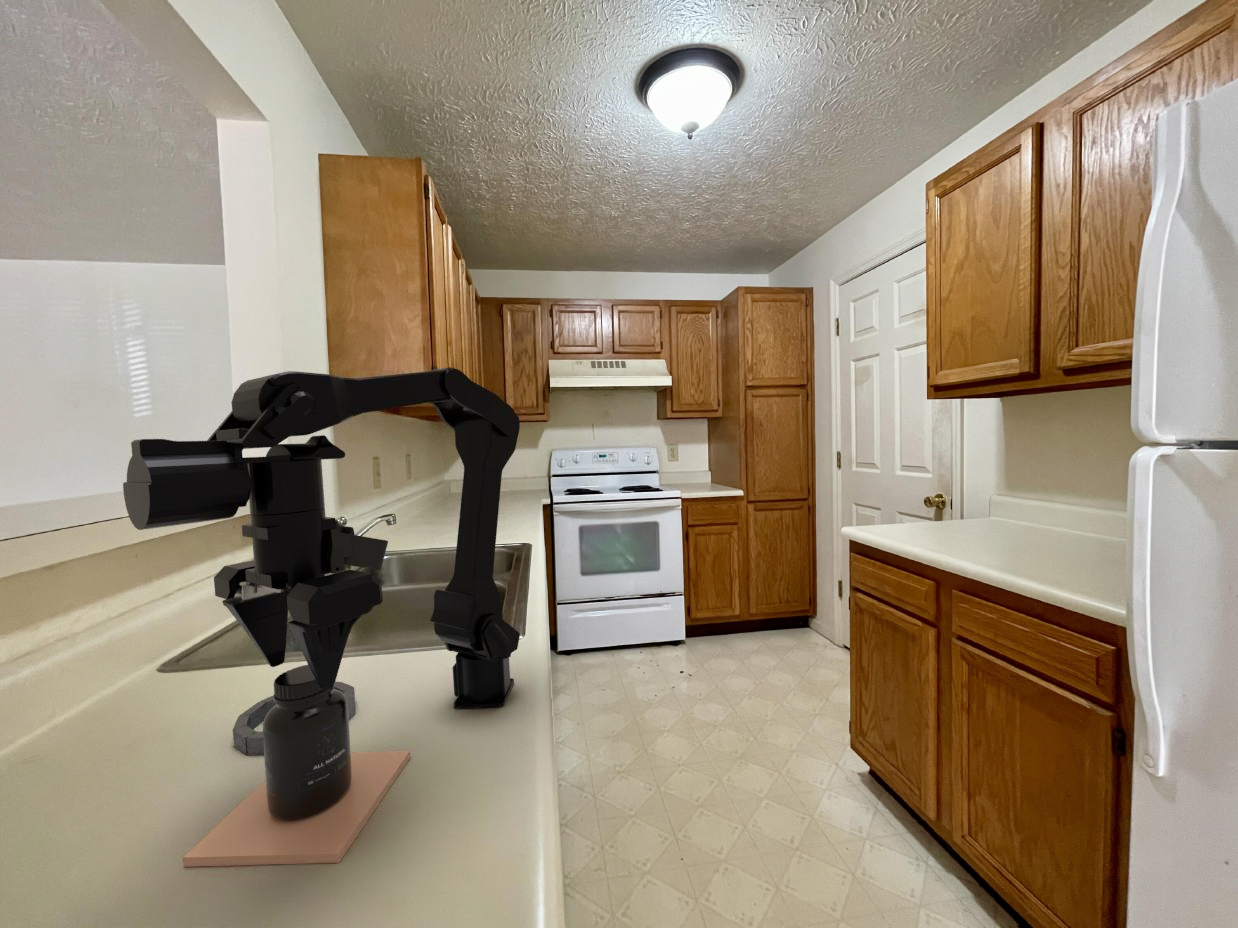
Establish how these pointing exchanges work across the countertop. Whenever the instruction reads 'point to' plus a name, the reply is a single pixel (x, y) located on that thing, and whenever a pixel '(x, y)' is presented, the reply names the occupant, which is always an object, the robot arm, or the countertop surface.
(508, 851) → the countertop surface
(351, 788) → the tile
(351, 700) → the collar
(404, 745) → the countertop surface
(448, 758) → the countertop surface
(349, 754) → the supplement bottle
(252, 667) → the countertop surface
